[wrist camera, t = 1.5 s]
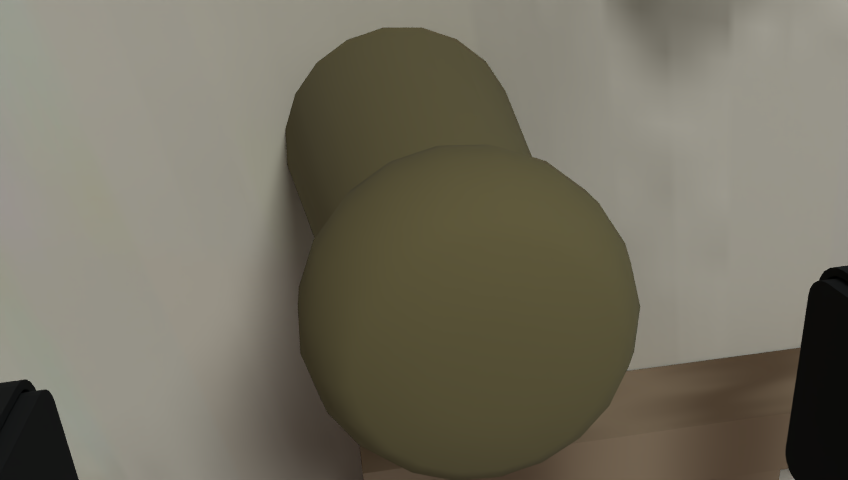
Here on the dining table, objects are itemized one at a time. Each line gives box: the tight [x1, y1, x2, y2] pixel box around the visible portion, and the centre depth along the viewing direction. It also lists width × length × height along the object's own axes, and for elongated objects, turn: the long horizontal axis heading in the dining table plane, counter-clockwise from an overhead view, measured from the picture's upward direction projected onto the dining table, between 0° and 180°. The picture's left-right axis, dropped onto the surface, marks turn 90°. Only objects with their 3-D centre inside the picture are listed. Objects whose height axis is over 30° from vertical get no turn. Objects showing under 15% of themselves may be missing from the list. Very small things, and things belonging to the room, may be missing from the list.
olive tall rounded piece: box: [286, 28, 640, 480], centre depth 16 cm, size 6×6×11 cm
